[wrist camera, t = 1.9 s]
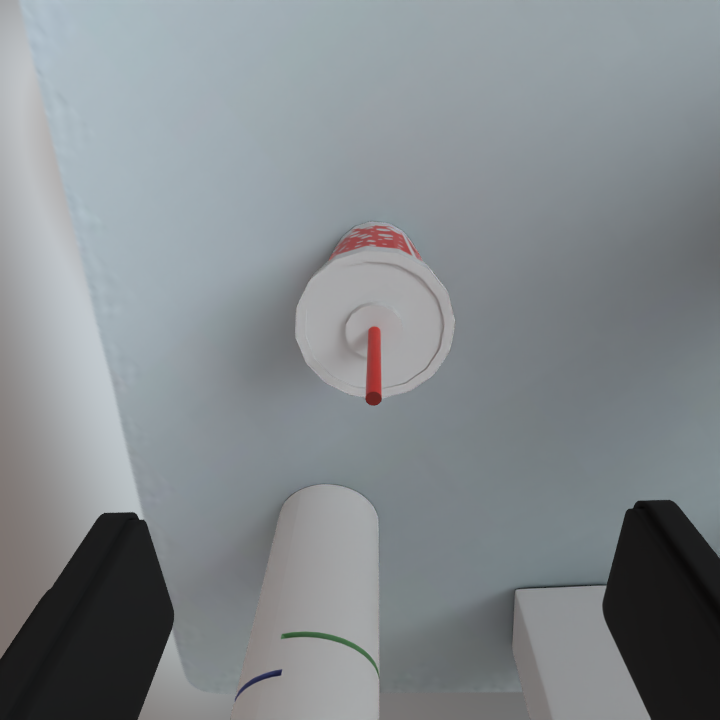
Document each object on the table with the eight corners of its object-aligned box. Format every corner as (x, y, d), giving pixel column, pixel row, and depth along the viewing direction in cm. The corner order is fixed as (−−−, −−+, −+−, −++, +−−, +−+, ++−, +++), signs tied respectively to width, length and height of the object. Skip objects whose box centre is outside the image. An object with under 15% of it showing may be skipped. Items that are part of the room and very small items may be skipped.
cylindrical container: (259, 507, 35) (53, 1204, 13) (346, 469, 33) (282, 1201, 11) (313, 570, 38) (221, 1235, 15) (396, 537, 36) (427, 1237, 14)
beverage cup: (296, 271, 27) (228, 409, 15) (367, 180, 25) (357, 251, 12) (382, 336, 29) (386, 511, 16) (455, 256, 27) (525, 387, 14)
